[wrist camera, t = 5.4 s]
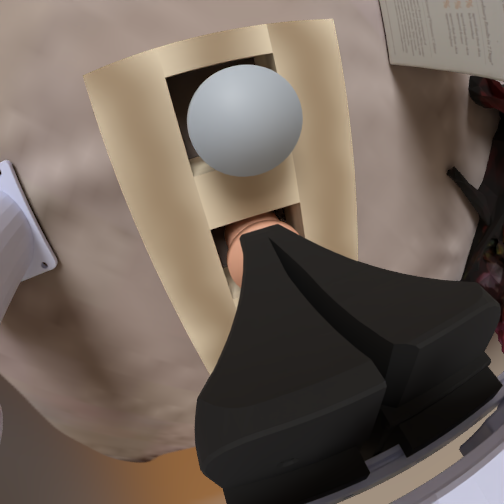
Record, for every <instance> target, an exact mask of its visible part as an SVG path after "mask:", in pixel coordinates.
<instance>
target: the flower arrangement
mask: <svg viewBox="0 0 504 504" xmlns="http://www.w3.org/2000/svg"><path fill="white" fill-rule="evenodd" d="M469 92H470V97H471V98H472V99H473V101H474V102H475V103H476V104H478V105H480V106H482V107H484V108H496V109H497V110H499V111H500V117H501V120H500V123H499V126H498V129H497V132H496V134H495V136H494V138H493V141H492V146H491V151H490V155H489V160H488V164H487V168H486V171H485V175H484V178H483V182H482V184H481V185H480V187H479V189H478V190H477V189H476V188H474V187H473V186H472V185H471V184H469V183H468V182H467V180H466V179H465V178H464V177H463V176H462V174H461V173H460V172H459V171H458V170H457V169H456V168H455V167H453V168H452V169H451V170H448V172H447V175H448V176H450V177H451V178H452V179H453V180H454V181H455V182H456V183H457V185H458V186H459V187H460V188H461V190H462V191H463V193H464V194H465V196H466V197H467V198H468V200H469V201H470V202H471V204H472V205H473V207H474V208H475V210H476V211H477V212H478V214H479V217H480V220H479V223H478V227H477V230H476V233H475V236H474V239H473V243H472V246H471V250H470V253H469V256H468V260H467V264H466V267H465V271H464V273H463V276H462V279H461V280H460V281H463V282H477V283H478V284H479V285H480V286H481V287H482V288H483V289H484V290H486V291H487V292H488V293H489V294H490V295H491V296H492V297H493V298H494V299H495V300H496V301H497V302H498V303H499V304H500V308H501V314H500V319H499V322H498V325H497V327H496V330H495V332H496V333H497V334H498V341H499V342H500V343H501V345H502V352H503V353H504V85H501V84H500V82H498V81H496V80H494V79H490V78H485V77H480V76H470V79H469Z"/></svg>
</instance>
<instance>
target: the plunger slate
mask: <svg viewBox="0 0 504 504" xmlns="http://www.w3.org/2000/svg"><path fill="white" fill-rule="evenodd" d="M302 124H303V115H302V108H301V103H300V101H299V98H298V96H297V94H296V92H295V90H294V89H293V87H292V86H291V85H290V83H289V82H288V81H287V80H286V79H285V78H283V77H282V76H281V75H279V74H278V73H276V72H274V71H273V70H270V69H268V68H265V67H262V66H257V65H237V66H232V67H228V68H225V69H222V70H220V71H218V72H216V73H214V74H213V75H211V76H210V77H208V78H207V79H206V80H205V81H204V82H203V83H202V84H201V85H200V86H199V87H198V89H197V90H196V92H195V93H194V95H193V97H192V99H191V102H190V104H189V108H188V112H187V129H188V133H189V137H190V140H191V142H192V145H193V147H194V149H195V150H196V152H197V153H198V155H199V156H200V157H201V158H202V159H203V161H204V162H205V163H207V164H208V165H209V166H210V167H212V168H214V169H215V170H217V171H219V172H222V173H224V174H228V175H231V176H238V177H247V176H255V175H259V174H262V173H265V172H267V171H269V170H271V169H273V168H275V167H276V166H278V165H279V164H281V163H282V162H283V161H284V160H285V159H286V158H287V157H288V156H289V155H290V153H291V152H292V151H293V149H294V148H295V146H296V144H297V142H298V140H299V137H300V134H301V130H302Z"/></svg>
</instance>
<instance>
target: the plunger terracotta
mask: <svg viewBox="0 0 504 504" xmlns="http://www.w3.org/2000/svg"><path fill="white" fill-rule="evenodd" d="M275 224H279V225H281V226H283V227H285V228H287V229H289V230H291V231H293V232H294V233H296V234H298V232H297V231H296V230H295V229H294V228H293V227H292V226H291V225H289V224H287V223H285V222H282V221H280V220H279V219H278V218H277V216H276V215H275V214H274V213H273V212H272V211H269V212H266V213H262V214H259V215H256V216H253V217H249V218H246V219H243V220H240V221H236V222H233V223H230V224H227V225H226V228H225V240H226V243H227V246H228V248H229V249H228V253H227V266H228V269H229V272H230V275H231V277H232V279H233V281H234V282H235V283H236V284H237V285H238V286H239V287H240V288H241V284H242V276H243V252H242V248H241V244H240V240H239V238H240V236H241V235H242V234H245V233H248V232H251V231H255V230H258V229H262V228H265V227H268V226H272V225H275ZM298 235H299V234H298Z"/></svg>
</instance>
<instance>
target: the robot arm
mask: <svg viewBox="0 0 504 504" xmlns="http://www.w3.org/2000/svg"><path fill="white" fill-rule="evenodd" d="M0 170H1V175H0V324H1V321H2V319H3V317H4V315H5V313H6V310H7V308H8V306H9V304H10V302H11V300H12V298H13V296H14V294H15V292H16V290H17V288H18V286H19V284H20V282H22V281H24V280H27V279H29V278H32V277H34V276H37V275H39V274H42V273H44V272H47V271H49V270H52V269H54V268H55V267H56V265H57V262H58V261H57V258H56V256H55V254H54V253H53V251H52V249H51V247H50V245H49V243H48V242H47V240H46V238H45V236H44V234H43V232H42V230H41V228H40V226H39V224H38V222H37V220H36V218H35V216H34V214H33V212H32V210H31V208H30V206H29V204H28V201H27V199H26V197H25V195H24V193H23V190H22V188H21V186H20V183H19V181H18V179H17V176H16V174H15V171H14V169H13V166H12V164H11V162H10V161H8V160H4V161H2V162H0ZM239 240H240V244H241V248H242V252H243V276H242V284H241V291H240V297H239V301H238V306H237V310H236V314H235V317H234V320H233V324H232V327H231V330H230V333H229V336H228V338H227V341H226V343H225V345H224V348H223V350H222V352H221V355H220V357H219V359H218V361H217V364H216V366H215V368H214V370H213V372H212V373H211V375H210V377H209V379H208V380H207V382H206V384H205V386H204V388H203V389H202V391H201V393H200V395H199V396H198V398H197V405H196V415H195V445H196V450H197V456H198V461H199V465H200V470H201V471H202V472H203V474H204V475H205V476H206V477H208V478H209V479H210V480H212V481H213V482H215V483H216V484H217V485H219V486H220V487H221V488H223V492H224V495H225V499H226V503H227V504H336V503H339V502H341V501H344V500H346V499H348V498H351V497H353V496H355V495H358V494H360V493H362V492H364V491H366V490H369V489H371V488H373V487H375V486H377V485H379V484H381V483H383V482H385V481H386V480H389V479H390V478H393V477H394V476H396V475H398V474H400V473H402V472H404V471H405V470H407V469H409V468H411V467H412V466H414V465H416V464H417V463H419V462H420V461H422V460H424V459H426V458H427V457H429V456H430V455H432V454H434V453H435V452H437V451H438V450H440V449H441V448H443V447H444V446H446V445H447V444H449V443H450V442H451V441H453V440H454V439H456V438H457V437H458V436H460V435H461V434H463V433H464V432H465V431H467V430H468V429H469V428H470V427H472V426H473V425H475V424H476V423H477V422H478V421H480V420H481V419H482V418H483V417H485V416H486V415H487V414H488V413H489V412H491V411H492V410H493V409H494V408H495V407H496V406H498V407H497V410H496V411H495V412H494V413H493V414H492V415H491V416H489V417H488V418H487V419H486V420H485V422H484V423H483V424H482V426H481V427H480V428H479V429H478V430H477V431H476V432H475V433H474V434H473V435H472V436H471V437H470V438H469V439H468V440H467V441H466V442H465V443H464V444H463V445H461V446H460V449H459V450H460V452H461V453H462V455H463V456H464V457H463V458H462V459H460V460H459V461H457V462H456V463H455V464H453V465H452V466H451V467H449V468H447V469H446V470H445V471H443V472H441V473H440V474H438V475H437V476H435V477H434V478H432V479H431V480H429V481H428V482H426V483H424V484H423V485H421V486H419V487H418V488H416V489H414V490H413V491H411V492H409V493H408V494H406V495H404V496H402V497H401V498H399V499H397V500H395V501H393V502H391V503H389V504H504V371H503V372H502V373H501V374H500V375H499V376H497V377H496V376H495V375H494V374H493V372H492V371H491V370H490V369H489V367H488V366H489V365H490V363H491V359H490V358H489V357H488V355H487V354H486V353H485V352H484V351H485V349H486V347H487V345H488V343H489V341H490V339H491V338H492V336H493V333H494V331H495V330H496V327H497V325H498V322H499V319H500V314H501V308H500V304H499V303H498V302H497V301H496V300H495V299H494V298H493V297H492V296H491V295H490V294H489V293H488V292H487V291H486V290H484V289H483V288H482V287H481V286H480V285H479V284H478V283H477V282H463V281H448V280H438V279H431V278H424V277H417V276H412V275H407V274H402V273H398V272H393V271H389V270H385V269H381V268H378V267H374V266H371V265H368V264H365V263H362V262H359V261H356V260H353V259H350V258H348V257H345V256H343V255H340V254H338V253H336V252H333V251H331V250H329V249H326V248H324V247H322V246H320V245H318V244H316V243H314V242H312V241H310V240H308V239H306V238H304V237H302V236H300V235H298V234H296V233H294V232H293V231H291V230H289V229H287V228H285V227H283V226H281V225H279V224H275V225H272V226H268V227H265V228H262V229H258V230H255V231H251V232H248V233H245V234H242V235H241V236H240V238H239ZM43 262H45V263H46V264H47V265H48V266H46V265H44V264H43ZM2 429H3V417H2V410H1V405H0V441H1V435H2Z"/></svg>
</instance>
